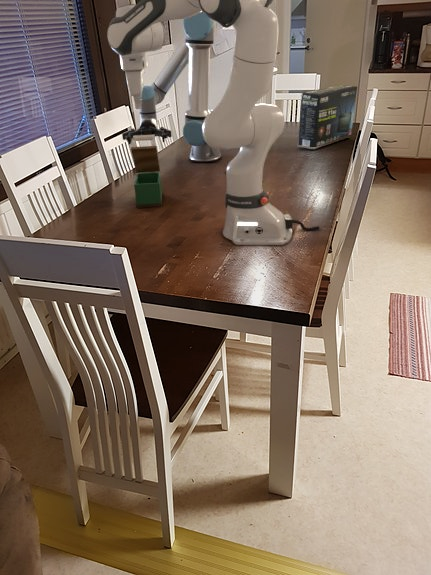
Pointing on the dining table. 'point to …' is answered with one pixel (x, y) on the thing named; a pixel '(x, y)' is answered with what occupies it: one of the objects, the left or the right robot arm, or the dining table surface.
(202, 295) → the dining table surface
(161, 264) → the dining table surface
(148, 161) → the lid
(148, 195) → the green box
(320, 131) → the router box
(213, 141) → the right robot arm
